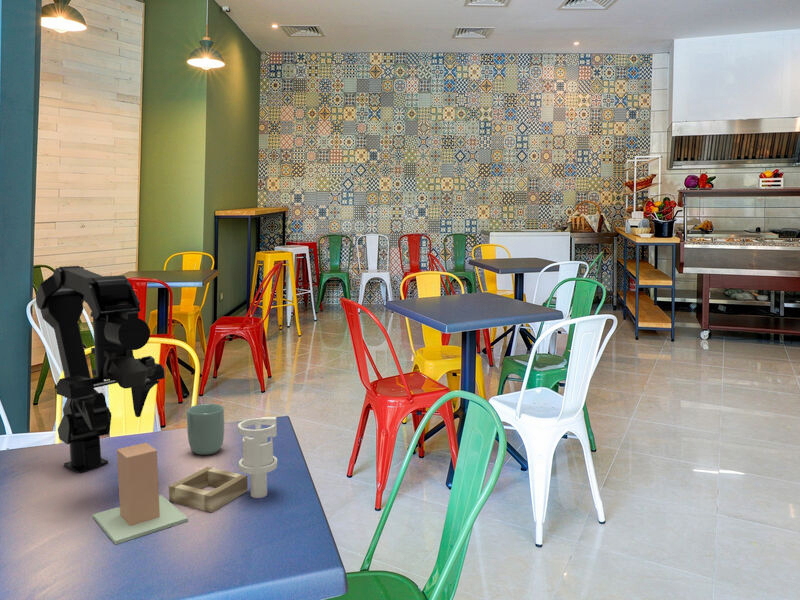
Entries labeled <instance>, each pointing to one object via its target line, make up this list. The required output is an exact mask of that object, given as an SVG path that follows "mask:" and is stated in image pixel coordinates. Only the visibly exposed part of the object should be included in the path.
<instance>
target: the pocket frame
mask: <svg viewBox="0 0 800 600" xmlns="http://www.w3.org/2000/svg"><path fill="white" fill-rule="evenodd" d="M209 486H210V487H214V489H212V490H210V491H209V490H205V489H204V488H206V487H209ZM248 490H249V489H248V475H245V474H241V473H235V472H232V471H228V470H224V469H218V468H214V467H211V466H210V467H209V466H206V467H203V468H202V469H200V470H198V471H195V472H194V473H191V474H190V475H188V476H186V477H184V478H181V479H180V480H177V481H176V482H174V483H172V484H170V485H168V491H169V492H168V498H169V499H168V501H169V502H170V503H174V504H178V505H183V506H186V507H189V508H193V509H196V510H197V509H198V510H201V511H203V512H208V513H213V512H214V511H216V510H218V509H220V508H222V507H223V506H224V505H227V504H228V503H229V502H231V501H233V500H235V499H237V498H238V497H240V496H241V495H244V494H245V493H247V492H249V491H248Z"/></svg>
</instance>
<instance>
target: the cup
mask: <svg viewBox="0 0 800 600" xmlns="http://www.w3.org/2000/svg"><path fill="white" fill-rule="evenodd" d="M186 430H187V440H188V444H189V447H190V449H191V451H192V452H193V453H194V454H196V455H201V456H206V455H207V456H208V455H213V454H215V453H217V452H218V451H220V449H221V448H222V446H223V444H224V439H225V438H224V437H225V408H224V405H221V404H219V403H201V404H196V405H195V404H194V405H193V406H191V407H188V409H187V410H186Z"/></svg>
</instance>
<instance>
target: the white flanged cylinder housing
mask: <svg viewBox="0 0 800 600" xmlns="http://www.w3.org/2000/svg"><path fill="white" fill-rule="evenodd" d="M262 425H265V426H268V427H266V428H262ZM250 426H255V429H249V428H247V427H250ZM277 430H278V429H277V416H270V417H269V416H263V417H257V418H249V419H245V420H243V421H241V422H239V423H238V424H237V432H238V434H239V435H241V436H243V437H242V458H240V460H239V461H238V470H239V471H240V472H241V473H243V474H247V475H249V480H250V497H252V498H254V499H261V498H265V497H267V495H268V474H267V473H270V472H272V471H274V470H275V469H277V468H278V458H277V457H276V456H274V442H273V441H274V438H275V437H277V434H278V433H277ZM268 438H270V441H269V442H268Z"/></svg>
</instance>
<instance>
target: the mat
mask: <svg viewBox="0 0 800 600" xmlns="http://www.w3.org/2000/svg"><path fill="white" fill-rule="evenodd" d="M159 509H160V517H158V518H155V519H151V520H148V521H145V522H142V523H138V524H135V525H132V526H130V525H129V524H128V523H127V522H126V521H125V520H124V519H123V518H122V517H121V516H120V506H118V507H114V508H110V509H107V510H104V511H99V512H97V513H94V514H92V519H93V520H94V521H95V522H96V523H97V524H98V525H99V527H100V528H101V529H102V530H103V532H104V533H105V534H106V535H107V537H108V538H109V539H110V540H111V541H112V542H113V544H114V545H118V544H122V543H125V542H127V541H130V540H134V539H137V538H140V537H144V536H146V535H149V534H152V533H156V532H159V531H162V530H165V529H168V528H170V527H171V528H172V527H174V526H178V525H181V524H183V523H187V522H189V518H188V517H187V516H186V515H185V514H184V513H183V512H182V511H181V510H180V509H178V508H177V507H176V506H175V505H174V504H172V502H170V501H169V499H167V498H166V497H165V496H164V495H162V494H159Z"/></svg>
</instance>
